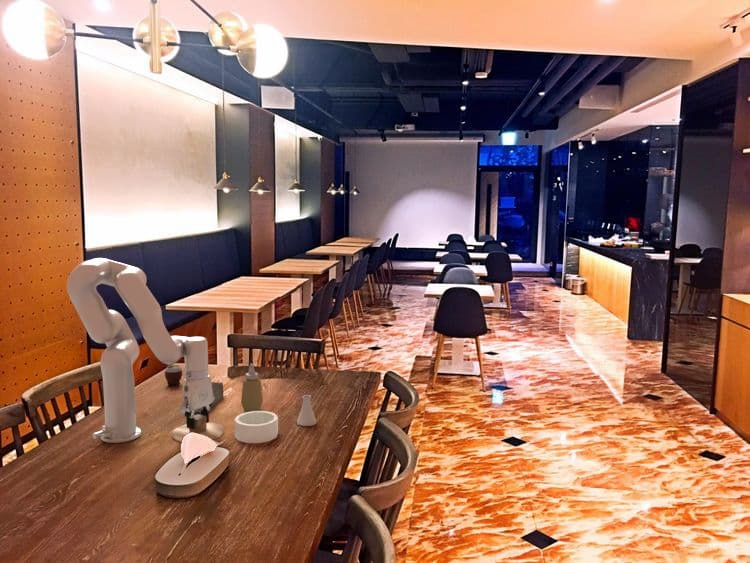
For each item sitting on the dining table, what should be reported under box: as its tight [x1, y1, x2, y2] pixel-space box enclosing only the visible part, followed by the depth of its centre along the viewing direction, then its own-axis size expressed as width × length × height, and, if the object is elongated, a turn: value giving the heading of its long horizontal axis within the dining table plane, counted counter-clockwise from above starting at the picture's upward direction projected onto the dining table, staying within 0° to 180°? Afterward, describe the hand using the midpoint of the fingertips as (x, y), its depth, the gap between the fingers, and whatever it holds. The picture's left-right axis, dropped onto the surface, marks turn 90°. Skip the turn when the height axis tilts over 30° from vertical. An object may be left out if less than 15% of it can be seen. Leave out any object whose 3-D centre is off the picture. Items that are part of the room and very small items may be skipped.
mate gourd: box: [164, 364, 183, 388], centre depth 262 cm, size 8×8×15 cm
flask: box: [296, 394, 317, 427], centre depth 221 cm, size 7×7×10 cm
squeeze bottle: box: [240, 363, 264, 413], centre depth 233 cm, size 8×8×18 cm
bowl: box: [234, 410, 279, 444], centre depth 210 cm, size 14×14×6 cm
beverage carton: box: [189, 381, 224, 413], centre depth 240 cm, size 8×19×7 cm, turn 174°
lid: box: [171, 413, 225, 443], centre depth 211 cm, size 17×17×6 cm
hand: (197, 424), depth 211 cm, fingers open, 5 cm apart
